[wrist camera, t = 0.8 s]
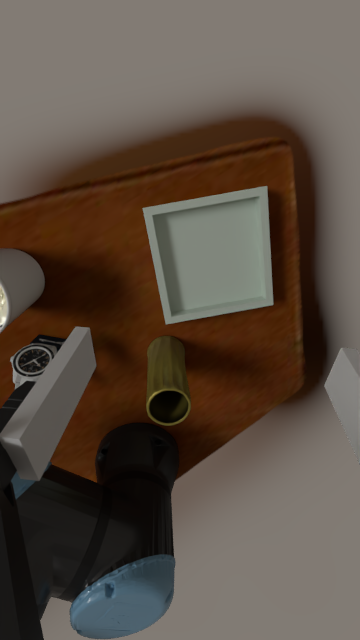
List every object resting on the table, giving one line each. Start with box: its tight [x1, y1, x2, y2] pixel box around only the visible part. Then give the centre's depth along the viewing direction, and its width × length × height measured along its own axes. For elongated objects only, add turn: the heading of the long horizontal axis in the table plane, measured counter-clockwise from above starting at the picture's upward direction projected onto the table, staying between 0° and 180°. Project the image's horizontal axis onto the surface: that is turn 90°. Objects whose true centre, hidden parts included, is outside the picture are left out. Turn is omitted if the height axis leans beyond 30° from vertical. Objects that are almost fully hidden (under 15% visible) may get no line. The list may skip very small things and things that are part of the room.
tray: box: [143, 186, 273, 324], centre depth 40 cm, size 16×16×3 cm
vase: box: [146, 336, 191, 426], centre depth 39 cm, size 6×6×14 cm
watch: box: [10, 335, 67, 389], centre depth 39 cm, size 6×8×11 cm
